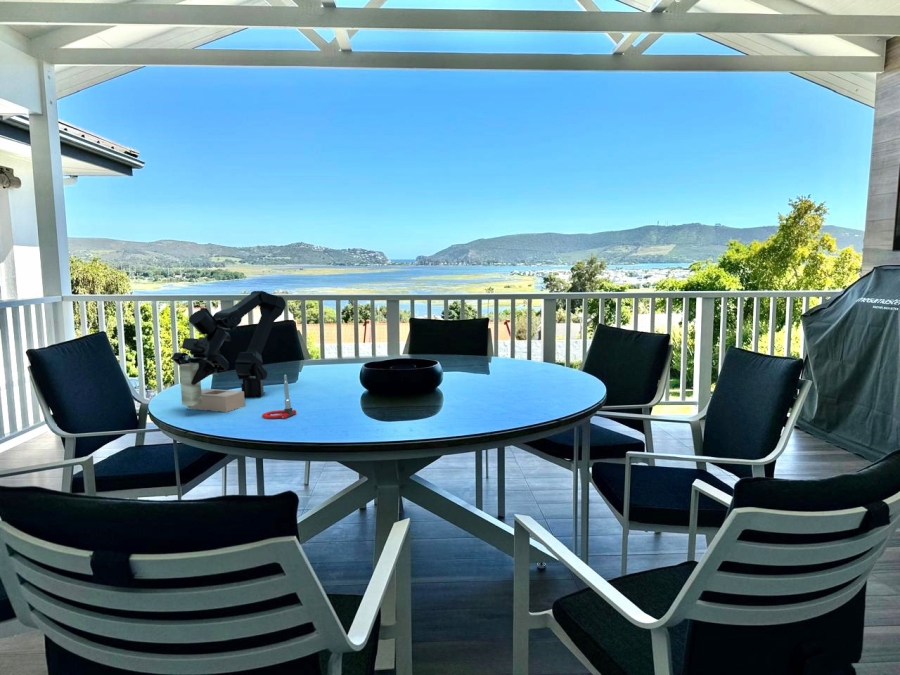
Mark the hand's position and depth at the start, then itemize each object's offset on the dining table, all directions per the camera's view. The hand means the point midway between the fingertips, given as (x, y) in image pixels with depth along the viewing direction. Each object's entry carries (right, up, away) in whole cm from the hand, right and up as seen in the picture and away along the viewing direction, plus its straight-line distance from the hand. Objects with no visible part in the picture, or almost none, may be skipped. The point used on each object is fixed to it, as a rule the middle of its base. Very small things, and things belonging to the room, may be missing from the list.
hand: (187, 383), depth 178 cm
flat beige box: (+4, -9, +12) cm, 15 cm away
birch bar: (+1, -6, +2) cm, 7 cm away
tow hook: (+28, -10, -1) cm, 30 cm away
